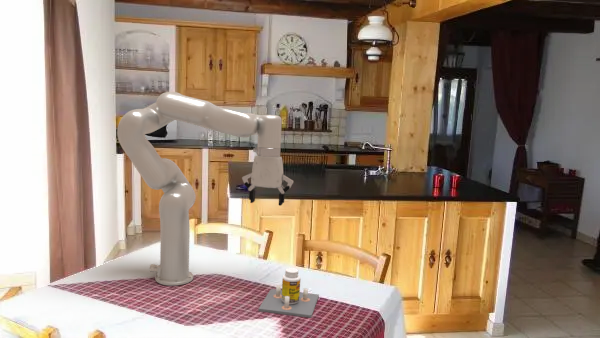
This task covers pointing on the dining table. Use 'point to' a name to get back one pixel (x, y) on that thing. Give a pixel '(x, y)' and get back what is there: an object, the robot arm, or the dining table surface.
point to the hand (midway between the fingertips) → (266, 203)
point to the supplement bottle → (291, 285)
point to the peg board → (299, 309)
